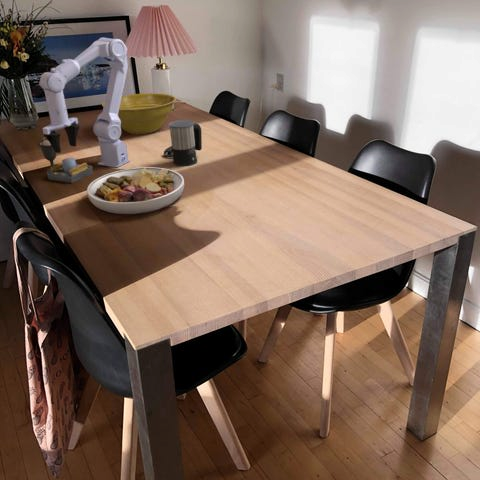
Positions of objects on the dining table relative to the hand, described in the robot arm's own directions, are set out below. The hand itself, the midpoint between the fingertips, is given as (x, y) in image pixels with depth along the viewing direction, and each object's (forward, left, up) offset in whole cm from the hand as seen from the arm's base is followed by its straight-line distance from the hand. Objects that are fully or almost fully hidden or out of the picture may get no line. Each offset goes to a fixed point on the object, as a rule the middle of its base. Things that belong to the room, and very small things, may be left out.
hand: (65, 149), depth 176 cm
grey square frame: (0, 0, -10) cm, 10 cm away
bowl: (-34, +8, -10) cm, 37 cm away
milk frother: (-28, -28, -10) cm, 41 cm away
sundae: (+11, -3, -10) cm, 15 cm away
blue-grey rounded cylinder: (0, 0, -10) cm, 10 cm away
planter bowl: (+10, -57, -10) cm, 59 cm away
